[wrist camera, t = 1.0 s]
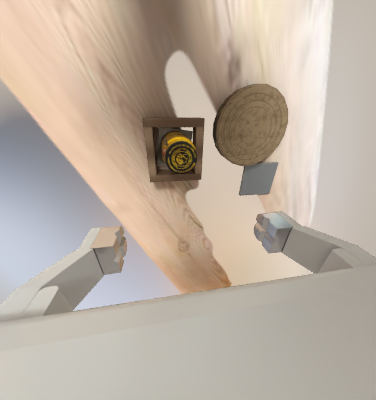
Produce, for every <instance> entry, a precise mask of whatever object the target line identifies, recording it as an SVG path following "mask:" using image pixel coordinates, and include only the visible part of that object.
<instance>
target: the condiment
mask: <svg viewBox="0 0 376 400" xmlns="http://www.w3.org/2000/svg"><path fill="white" fill-rule="evenodd" d="M192 133H193V132H192V131H186V130H180V129H173V128H166V127H159V134H158V153H157V166H164V167H168V168H169V169H170V170H171V171H172V172H174V173H177V174H186V173H188V172H190V171H191V170H192V169H193V168H194V167H195V165H196V163H197V154H196V153H197V152H196V150H195V146H194V145H193V143H192V142H191V139H192Z"/></svg>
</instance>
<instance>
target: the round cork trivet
mask: <svg viewBox="0 0 376 400" xmlns="http://www.w3.org/2000/svg"><path fill="white" fill-rule="evenodd" d="M287 123H288V108H287V105H286V101H285V98H284V97H283V96H282V94H281V93H280V92H279V91H278V89H276V88H274V87H272V86H270V85H268V84H253V85H249V86H246V87H244V88H242V89H239V90H237V91H235V92H234V93H233V94H232V95H230V96H229V97H228V98H227V99H226V100H225V101H224V103H223V104H222V106H221V107H220V109H219V110H218V113H217V114H216V117H215V120H214V123H213V139H214V143H215V146H216V148H217V150H218V151H219V153H220V154H221V155H222V156H223V157H225V158H226V159H227V160H229V161H230V162H231V163H233V164H237V165H240V166H247V165H253V164H256V163H258V162H261V161H262V160H264V159H265V158H267V157H268V156H269V155H271V153H272V152H273V151H274V150H275V149H276V148H277V147H278V145H279V143H280V142H281V140H282V138H283V136H284V134H285V130H286V127H287Z"/></svg>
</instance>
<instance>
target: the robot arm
mask: <svg viewBox="0 0 376 400" xmlns="http://www.w3.org/2000/svg"><path fill="white" fill-rule="evenodd" d="M256 220H257V223H256V224H255V226H254V234H255V236H256V238H257V239H258V240H259V241H261V242H262V245H263V247H264V248H265V249H266V251H268V253H277V252H282V253H283V254H285V255H286V256H288V257H289V258H291V259H293V260H294V261H296V262H297V263H299V264H300V265H302V266H304V267H305V268H307V269H308V270H310V271H311V272H313V273H314V274H309V275H303V276H297V277H291V278H284V279H277V280H271V281H265V282H258V283H252V284H246V285H239V286H232V287H226V288H219V289H213V290H206V291H200V292H193V293H187V294H181V295H174V296H168V297H161V298H155V299H148V300H142V301H135V302H129V303H122V304H116V305H110V306H103V307H97V308H90V309H84V310H77V311H73V310H74V309H75V307H76V306H77V305H78V304H79V303H80V302H81V301H82V300H83V298H84V297H85V296H86V295H87V294H88V293H89V292H90V291H91V289H92V288H93V287H94V286H95V285H96V284H97V283H98V282H99V281H100V279H101V278H102V277H103V275H106V274H113V273H119V272H121V271H122V267H123V263H124V260H123V257H124V256H125V255H126V251H127V242H126V238H125V237H124V236H123V234H124V230H123V227H122V226H116V227H103V228H93V229H91V230H90V231H89V233H88V235H87V236H86V238H85V239H84V241H83V242H82V244H81V246H80V247H79V249H78V250H77V251H73V252H71V253H70V254H68V255H67V256H65V257H64V258H62V259H61V260H59V261H58V262H56V263H55V264H53V265H52V266H50V267H49V268H47V269H46V270H44V271H43V272H41V273H40V274H38V275H37V276H35V277H33V278H32V279H30V280H29V281H28V282H26V283H25V284H23V285H21V286H20V287H18V288H17V289H15V290H14V291H13V292H12V293H11V295H10V296H9V297H8V298H7V299H6V300H5V302H4V303H3V304H2V305H1V306H0V400H376V258H375V257H374V256H373V255H371V254H369V253H368V252H366V251H365V250H363V249H362V248H360V247H359V246H357V245H354V244H352V243H349V242H346V241H344V240H341V239H338V238H335V237H333V236H330V235H327V234H325V233H321V232H319V231H316V230H314V229H311V228H308V227H305V226H301V225H300V224H299V223H297V222H296V221H295V220H293V219H292V218H291V217H289V216H288V215H287V214H286V213H284V212H274V213H264V214H258V216H257V218H256Z"/></svg>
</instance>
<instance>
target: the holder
mask: <svg viewBox="0 0 376 400" xmlns="http://www.w3.org/2000/svg"><path fill="white" fill-rule="evenodd" d="M143 127H144V135H145V143H146V151H147V159H148V167H149V175H150V182H164V181H183V180H201V173H202V153H203V135H204V118H143ZM153 127H193V145H194V146H195V150H196V152H197V153H196V154H197V163H196V165H195V167H194V168H193V169H192V170H191V171H190V172H188V173H186V174H177V173H174V172H172V171H171V170H157V167H156V156H155V146H154V136H153Z"/></svg>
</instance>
